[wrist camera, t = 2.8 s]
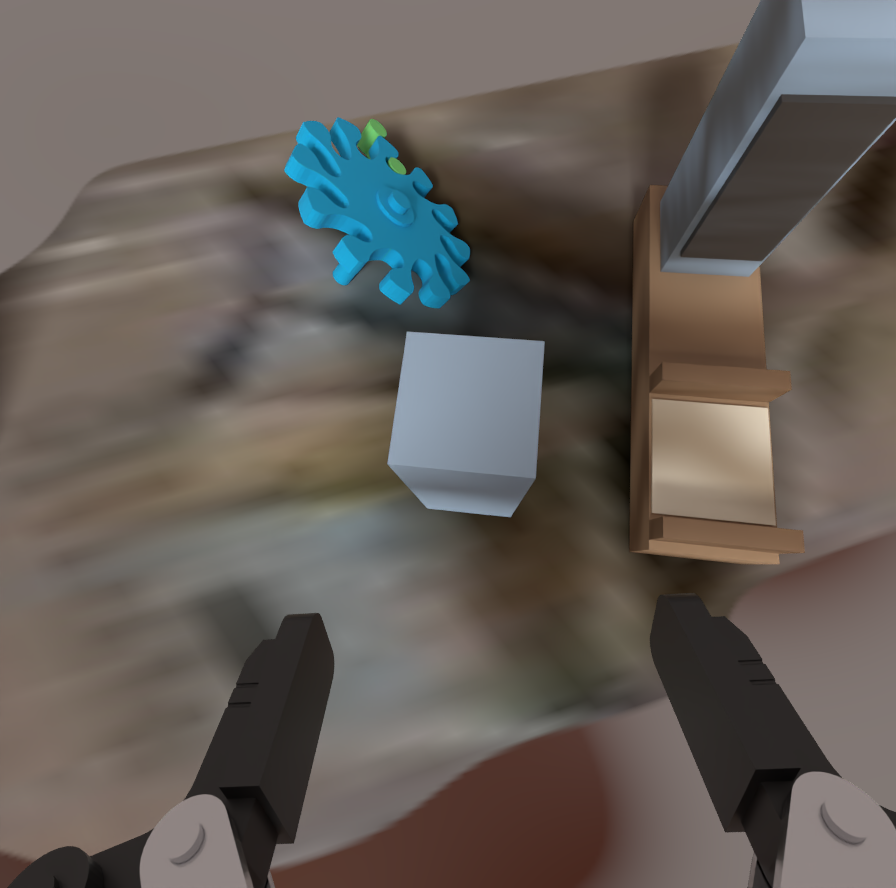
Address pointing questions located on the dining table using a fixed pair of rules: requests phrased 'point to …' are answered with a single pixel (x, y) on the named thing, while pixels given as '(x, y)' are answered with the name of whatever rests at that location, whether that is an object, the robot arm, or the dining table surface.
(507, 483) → the light grey block
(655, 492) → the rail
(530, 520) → the dining table surface
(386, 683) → the dining table surface
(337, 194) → the gear
